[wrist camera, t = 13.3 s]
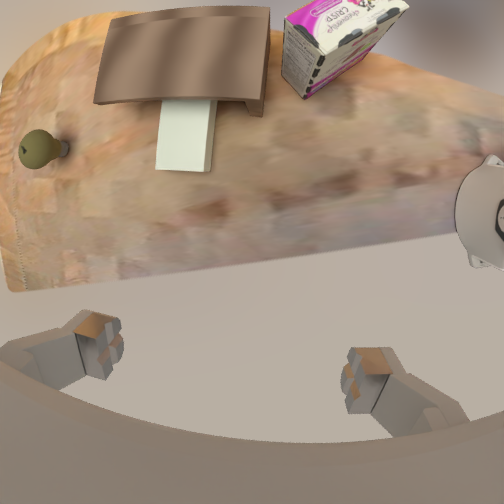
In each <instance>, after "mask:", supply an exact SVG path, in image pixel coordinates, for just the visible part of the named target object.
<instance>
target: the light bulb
mask: <svg viewBox="0 0 504 504" xmlns="http://www.w3.org/2000/svg"><path fill="white" fill-rule="evenodd" d="M67 152H68V144H67V143H66V142H64V141H59V140H57V139H55V138H53V137H52V135H51V134H49V133H48V132H47V131H44V130H39V129H38V130H33V131H31V132H29V133H28V134H27V135H25V137H24V138H23V139H22V141H21V143H20V146H19V158H20V161H21V163H22V164H23V165H24V166H25V167H27V168H29V169H39V168H42V167H44V166H45V165H46V164H48V163H49V162H50V161H51V160H53V159H55V158H57V157H63V156H65V155H66V154H67Z"/></svg>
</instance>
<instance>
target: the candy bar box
mask: <svg viewBox="0 0 504 504" xmlns="http://www.w3.org/2000/svg"><path fill="white" fill-rule="evenodd" d="M408 8H409V6H408V5H407V4H406V3H405V2H404V1H403V0H314V1H312V2H310V3H308V4H306V5H304V6H303V7H301V8H299V9H297V10H295V11H294V12H292V13H290V14H289V15H287V16H286V17H285V18H284V19H285V20H284V38H283V55H282V70H281V75H282V76H283V78H284V79H285V80H286V81H287V82H288V83H289V84H290V85H291V86H292V87H293V88H294V89H295V90H296V91H297V92H298V94H299V95H300V96H301V97H302V98H303V99H304V100H305V99H307V98H308V97H310V96H311V95H312V94H314V93H315V92H316V91H318V90H319V89H321V88H322V87H323V86H325V85H326V84H327V83H329V82H330V81H332V80H333V79H335V78H336V77H337V76H339V75H340V74H342V73H343V72H345V71H346V70H348V69H349V68H351V67H352V66H354V65H355V64H357V63H358V62H360V61H361V60H363V58H364V57H365V56H366V55H367V54H368V52H369V51H370V50H371V49H372V48H373V47H374V45H375V44H376V43H377V42H378V41H379V40H380V39H381V37H382V36H383V35H384V34H385V33H386V32H387V31H388V29H389V28H390V27H391V26H392V25H393V24H394V23H395V22H396V21H397V20H398V18H399V17H400V16H401V15H402V14H403V13H404V12H405V11H406V10H407V9H408Z"/></svg>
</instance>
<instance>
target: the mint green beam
mask: <svg viewBox="0 0 504 504" xmlns="http://www.w3.org/2000/svg"><path fill="white" fill-rule="evenodd" d="M217 101H218V100H162V107H161V115H160V124H159V133H158V143H157V155H156V168H155V169H157V170H180V171H198V172H208V171H210V169H211V158H212V147H213V137H214V128H215V118H216V110H217Z"/></svg>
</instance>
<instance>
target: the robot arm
mask: <svg viewBox="0 0 504 504" xmlns="http://www.w3.org/2000/svg"><path fill="white" fill-rule="evenodd" d="M455 221H456V228H457V232H458V235H459V238H460V240H461V242H462V243H463V245H464V247H465V248H466V250H467V252H468V258H469V263H470V265H471V266H472V267H474V268H481V267H488V266H493V267H495V268H497V269H499V270H501V271H504V162H503V161H501V160H500V159H499V158H498V157H497V156H495V155H491V154H490V155H488V156H487V158H486V159H485V161H484V162H483V164H482V165H481V166H480V167H478V168H476V169H474V170H473V171H472V172H470V173H469V174H468V176H467V177H466V178H465V180H464V181H463V183H462V185H461V187H460V190H459V193H458V196H457V201H456V208H455ZM120 330H121V322H120V320H119V319H118V318H117V317H113V316H109V315H105V314H101V313H97V312H94V311H90V310H81V311H80V312H79V313H78V314H77V315H76V316H75V317H73V318H72V319H71V320H70V321H69V322H68V323H67V324H65V325H64V326H63V327H62V328H61V329H60V328H55V329H51V330H48V331H44V332H41V333H37V334H33V335H30V336H26V337H22V338H19V339H15V340H11V341H8V342H7V343H6V344H4V345H3V346H2V347H1V348H0V504H504V411H502V412H499V413H496V414H493V415H490V416H487V417H484V418H481V419H477V420H474V421H471V422H470V420H469V419H468V417H467V416H466V414H465V412H464V411H463V409H462V407H461V406H460V404H459V403H458V402H457V401H456V400H454V399H452V398H450V397H449V396H447V395H446V394H444V393H442V392H440V391H439V390H437V389H435V388H434V387H432V386H431V385H429V384H427V383H425V382H424V381H422V380H421V379H419V378H417V377H415V376H414V375H412V374H410V373H409V374H407V373H406V371H405V370H404V368H403V366H402V364H401V363H400V361H399V359H398V357H397V356H396V354H395V353H394V351H393V349H392V348H390V347H378V348H351V349H350V350H349V353H348V356H347V358H348V361H349V363H348V364H347V365H345V366H344V368H343V371H342V374H341V389H342V392H343V393H344V394H346V395H347V396H346V398H345V403H346V408H347V411H348V414H370V413H371V415H372V416H373V417H374V418H375V419H376V420H377V421H378V422H379V423H380V424H381V425H382V426H383V427H384V428H385V429H386V430H387V431H388V432H389V433H390V434H391V435H392V436H393V437H394V438H387V439H378V440H369V441H358V442H341V443H284V442H268V441H267V442H266V441H255V440H244V439H236V438H228V437H221V436H214V435H207V434H202V433H196V432H191V431H186V430H181V429H176V428H171V427H166V426H163V425H158V424H154V423H151V422H147V421H143V420H139V419H136V418H132V417H129V416H126V415H122V414H119V413H116V412H113V411H110V410H107V409H104V408H101V407H98V406H95V405H93V404H90V403H87V402H84V401H82V400H80V399H77V398H74V397H72V396H70V395H67V394H65V393H62V392H60V391H59V390H60V389H62V388H64V387H66V386H68V385H70V384H71V383H73V382H75V381H77V380H79V379H81V378H83V377H85V376H86V375H88V376H92V377H95V378H98V379H102V380H106V379H107V378H108V376H109V375H110V373H111V372H112V371H113V366H112V365H113V364H115V363H118V362H119V360H120V359H121V357H122V354H123V351H124V342H123V338H122V337H121V335H120V334H119V331H120Z"/></svg>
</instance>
